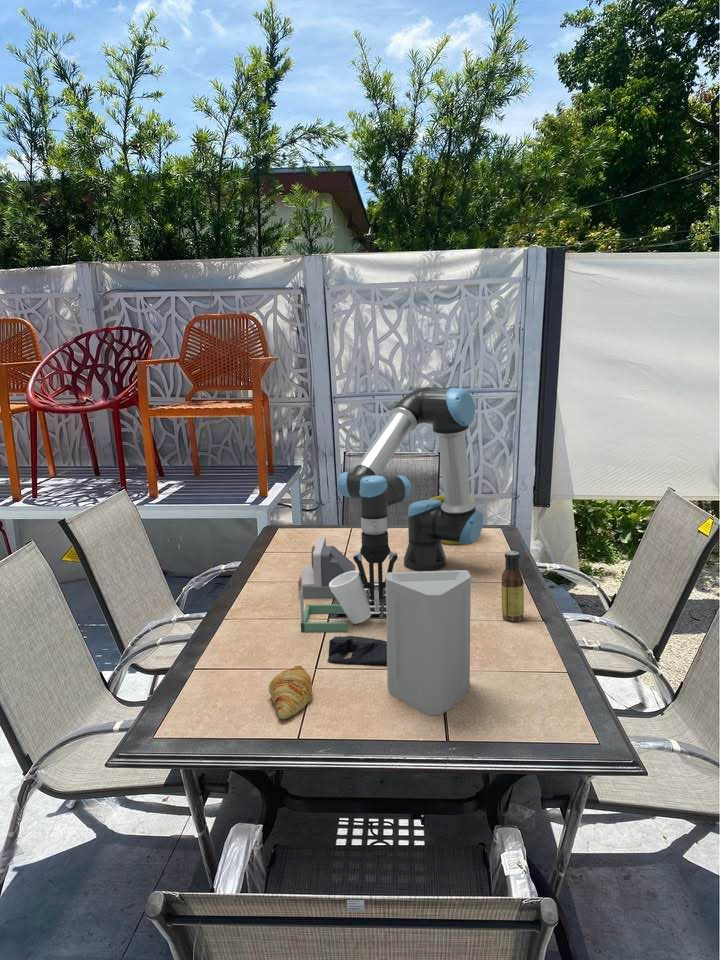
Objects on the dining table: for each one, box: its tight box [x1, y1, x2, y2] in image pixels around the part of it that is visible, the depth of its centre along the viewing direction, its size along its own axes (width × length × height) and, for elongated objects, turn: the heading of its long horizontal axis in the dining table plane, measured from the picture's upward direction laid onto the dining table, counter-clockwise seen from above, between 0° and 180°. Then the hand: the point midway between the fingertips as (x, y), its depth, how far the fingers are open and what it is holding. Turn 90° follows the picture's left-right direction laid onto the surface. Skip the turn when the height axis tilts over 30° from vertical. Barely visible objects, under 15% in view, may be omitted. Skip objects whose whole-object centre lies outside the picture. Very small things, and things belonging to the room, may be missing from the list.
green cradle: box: [297, 574, 348, 633], centre depth 201 cm, size 13×18×16 cm
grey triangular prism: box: [385, 569, 472, 716], centre depth 159 cm, size 19×15×28 cm
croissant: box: [268, 665, 313, 720], centre depth 162 cm, size 21×10×8 cm, turn 177°
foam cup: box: [329, 570, 372, 625], centre depth 203 cm, size 10×9×13 cm
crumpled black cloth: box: [327, 635, 387, 666], centre depth 184 cm, size 15×22×5 cm
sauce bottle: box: [501, 550, 525, 623], centre depth 202 cm, size 6×6×20 cm
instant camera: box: [298, 536, 357, 600], centre depth 230 cm, size 21×21×15 cm
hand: (377, 609), depth 203 cm, fingers closed
